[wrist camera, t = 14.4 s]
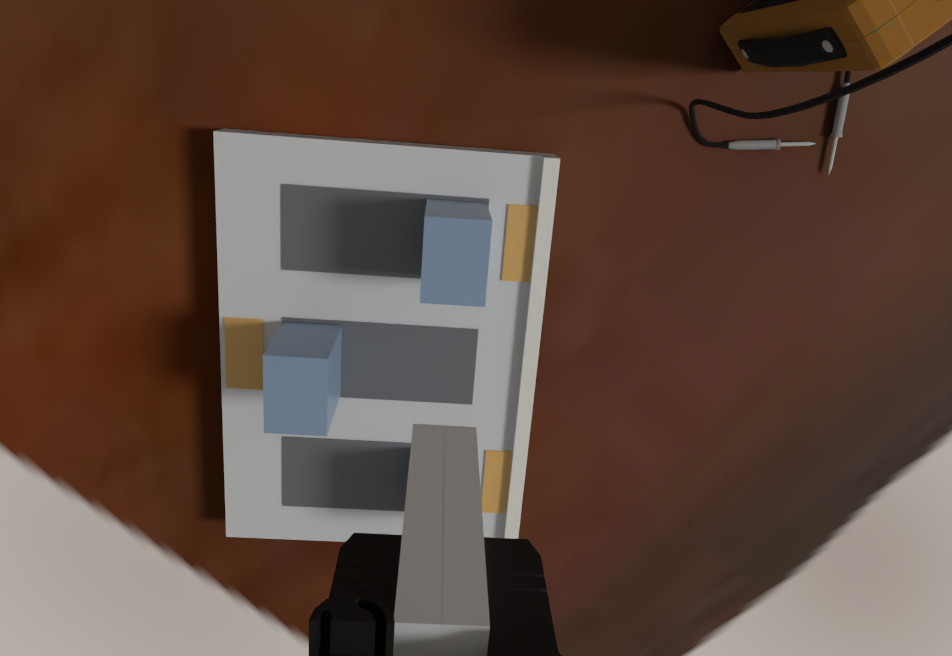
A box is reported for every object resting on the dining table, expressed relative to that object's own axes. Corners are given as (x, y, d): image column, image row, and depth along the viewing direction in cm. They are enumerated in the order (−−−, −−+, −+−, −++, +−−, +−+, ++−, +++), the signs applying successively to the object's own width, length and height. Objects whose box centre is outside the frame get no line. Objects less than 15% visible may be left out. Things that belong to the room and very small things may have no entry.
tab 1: (284, 321, 39) (262, 355, 35) (342, 325, 39) (328, 358, 35) (284, 391, 41) (263, 433, 36) (340, 394, 41) (326, 436, 36)
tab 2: (427, 198, 38) (424, 215, 33) (486, 202, 38) (492, 220, 33) (422, 275, 39) (419, 303, 34) (480, 279, 39) (484, 307, 34)
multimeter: (751, 227, 41) (1016, 355, 22) (652, 75, 38) (856, 71, 19) (993, 53, 39) (1523, 28, 20) (906, -122, 36) (1423, -347, 17)
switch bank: (224, 128, 38) (209, 131, 36) (553, 153, 39) (560, 158, 37) (235, 517, 45) (223, 542, 43) (512, 529, 46) (516, 555, 44)
